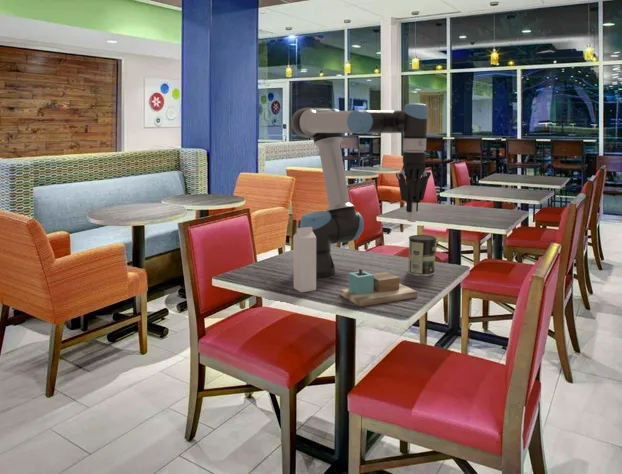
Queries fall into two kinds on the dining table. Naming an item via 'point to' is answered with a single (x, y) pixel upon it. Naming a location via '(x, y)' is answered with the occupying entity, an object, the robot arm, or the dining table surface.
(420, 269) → the coffee can
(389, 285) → the block
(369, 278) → the teal hollow cube
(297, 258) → the milk
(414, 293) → the base board
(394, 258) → the dining table surface
